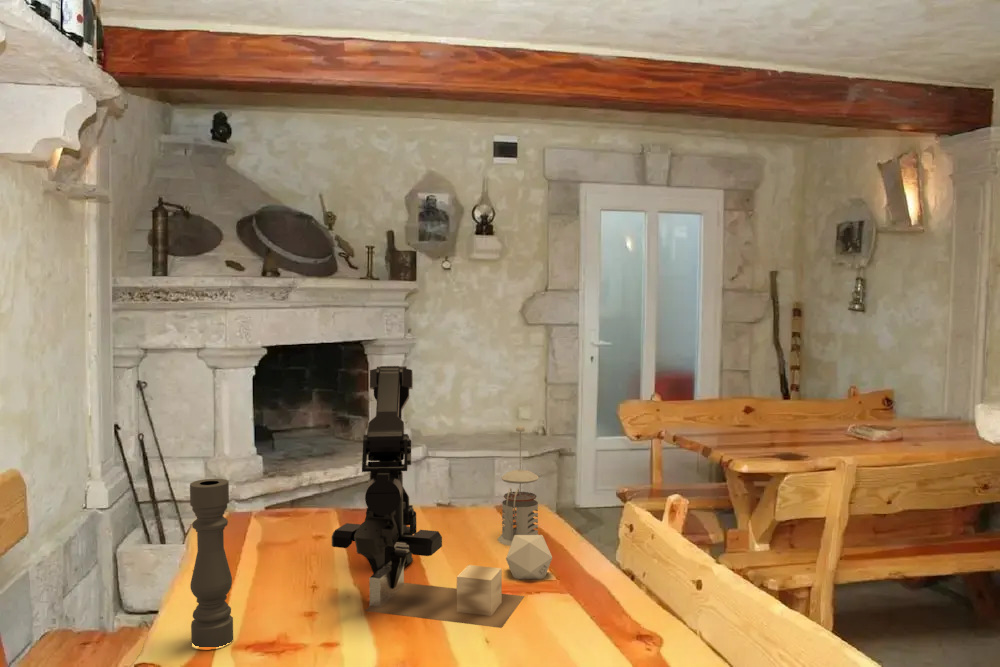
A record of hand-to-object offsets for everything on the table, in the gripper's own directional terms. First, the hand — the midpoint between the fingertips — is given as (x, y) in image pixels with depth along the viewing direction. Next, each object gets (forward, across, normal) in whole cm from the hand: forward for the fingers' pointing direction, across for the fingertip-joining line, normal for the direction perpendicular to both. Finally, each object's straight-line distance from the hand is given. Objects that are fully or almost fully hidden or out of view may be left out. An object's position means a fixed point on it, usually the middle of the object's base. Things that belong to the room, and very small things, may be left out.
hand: (387, 587), depth 146 cm
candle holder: (+3, -19, -23) cm, 30 cm away
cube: (+2, +17, 0) cm, 17 cm away
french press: (+3, +13, +40) cm, 42 cm away
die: (+3, +21, +18) cm, 28 cm away
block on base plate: (+2, +11, 0) cm, 11 cm away
